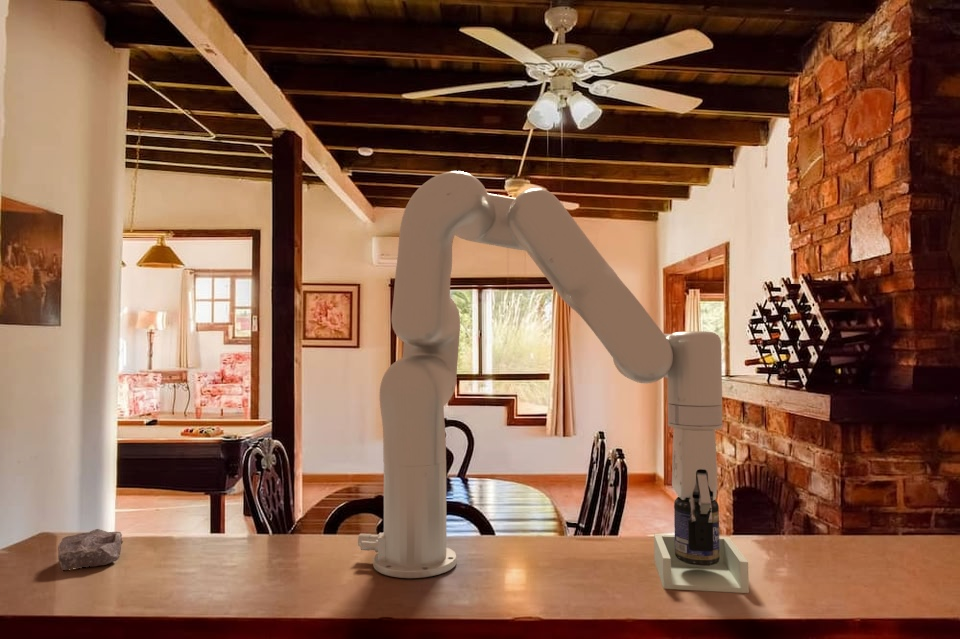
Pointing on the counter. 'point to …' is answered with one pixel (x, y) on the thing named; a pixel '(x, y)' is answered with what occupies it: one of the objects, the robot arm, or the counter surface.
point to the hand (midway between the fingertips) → (696, 541)
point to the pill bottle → (682, 534)
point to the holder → (701, 568)
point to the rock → (89, 549)
